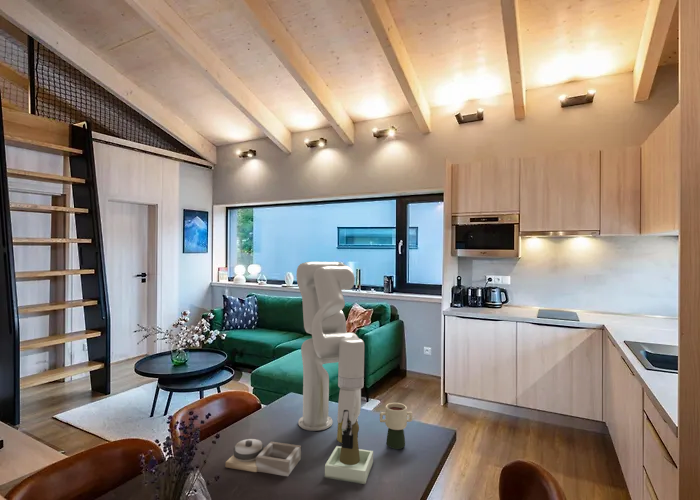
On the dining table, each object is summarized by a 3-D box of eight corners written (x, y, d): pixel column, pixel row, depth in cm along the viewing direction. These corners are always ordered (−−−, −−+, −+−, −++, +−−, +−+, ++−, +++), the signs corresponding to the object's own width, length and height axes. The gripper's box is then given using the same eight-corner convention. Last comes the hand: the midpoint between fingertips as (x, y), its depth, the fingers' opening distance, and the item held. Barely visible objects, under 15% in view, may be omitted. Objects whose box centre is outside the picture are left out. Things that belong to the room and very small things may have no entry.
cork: (358, 466, 112) (358, 427, 112) (337, 463, 113) (337, 425, 113) (361, 455, 118) (362, 418, 118) (341, 453, 119) (342, 416, 119)
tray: (336, 457, 122) (336, 446, 123) (373, 462, 120) (373, 451, 120) (324, 477, 111) (324, 465, 111) (365, 484, 108) (365, 471, 108)
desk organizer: (244, 449, 127) (244, 432, 127) (301, 458, 122) (301, 440, 122) (225, 467, 116) (225, 448, 116) (287, 477, 111) (287, 457, 111)
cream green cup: (409, 440, 134) (409, 402, 134) (414, 451, 127) (415, 410, 127) (377, 441, 133) (378, 402, 133) (381, 452, 126) (381, 411, 126)
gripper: (346, 371, 125) (345, 429, 125) (330, 389, 108) (329, 455, 108) (369, 373, 123) (368, 432, 123) (356, 392, 107) (355, 459, 106)
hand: (349, 442), depth 116 cm, fingers closed on cork, 5 cm apart
